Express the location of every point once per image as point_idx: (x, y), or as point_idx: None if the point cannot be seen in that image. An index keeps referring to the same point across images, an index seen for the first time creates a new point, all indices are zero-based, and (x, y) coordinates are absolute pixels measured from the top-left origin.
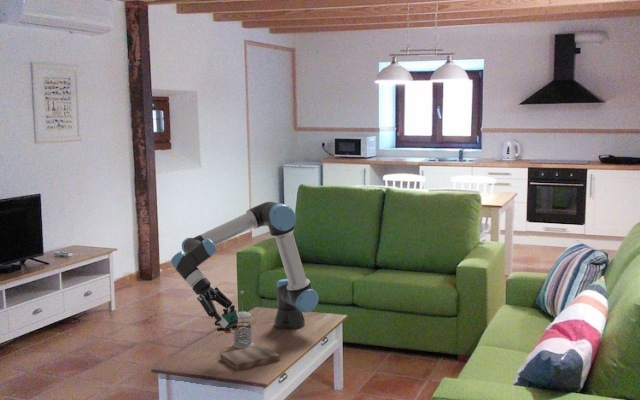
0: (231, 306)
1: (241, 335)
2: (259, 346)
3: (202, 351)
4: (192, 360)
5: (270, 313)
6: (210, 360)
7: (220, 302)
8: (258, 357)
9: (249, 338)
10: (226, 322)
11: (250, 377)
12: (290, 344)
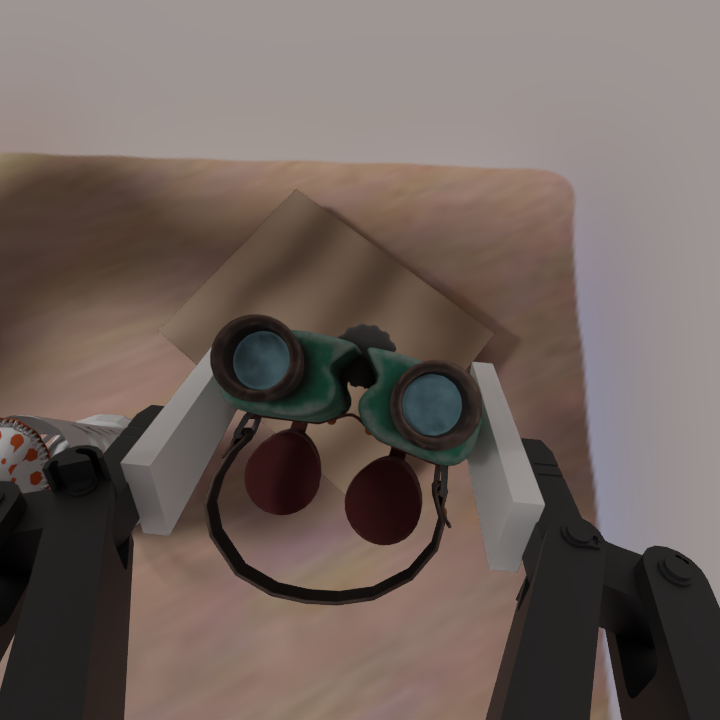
0: (237, 382)
1: None
2: (192, 330)
3: (260, 689)
4: (428, 673)
5: None
6: (395, 553)
7: (114, 681)
8: (362, 269)
9: (90, 425)
10: (493, 376)
11: (543, 249)
12: (68, 236)
